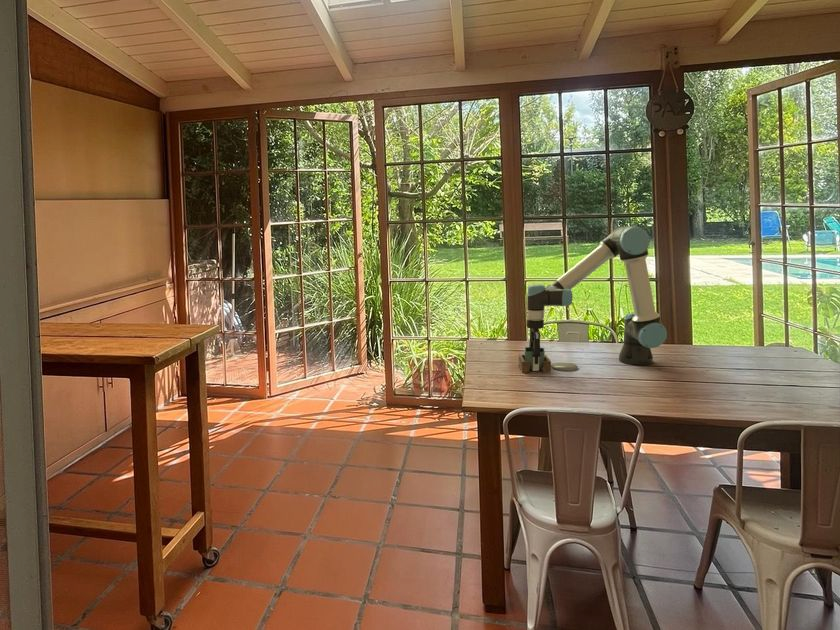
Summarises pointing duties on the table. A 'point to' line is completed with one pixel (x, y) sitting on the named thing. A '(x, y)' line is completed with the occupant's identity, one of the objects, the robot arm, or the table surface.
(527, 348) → the flower pot
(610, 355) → the table surface
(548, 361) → the frame
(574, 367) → the olive beige round disc
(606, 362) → the table surface
